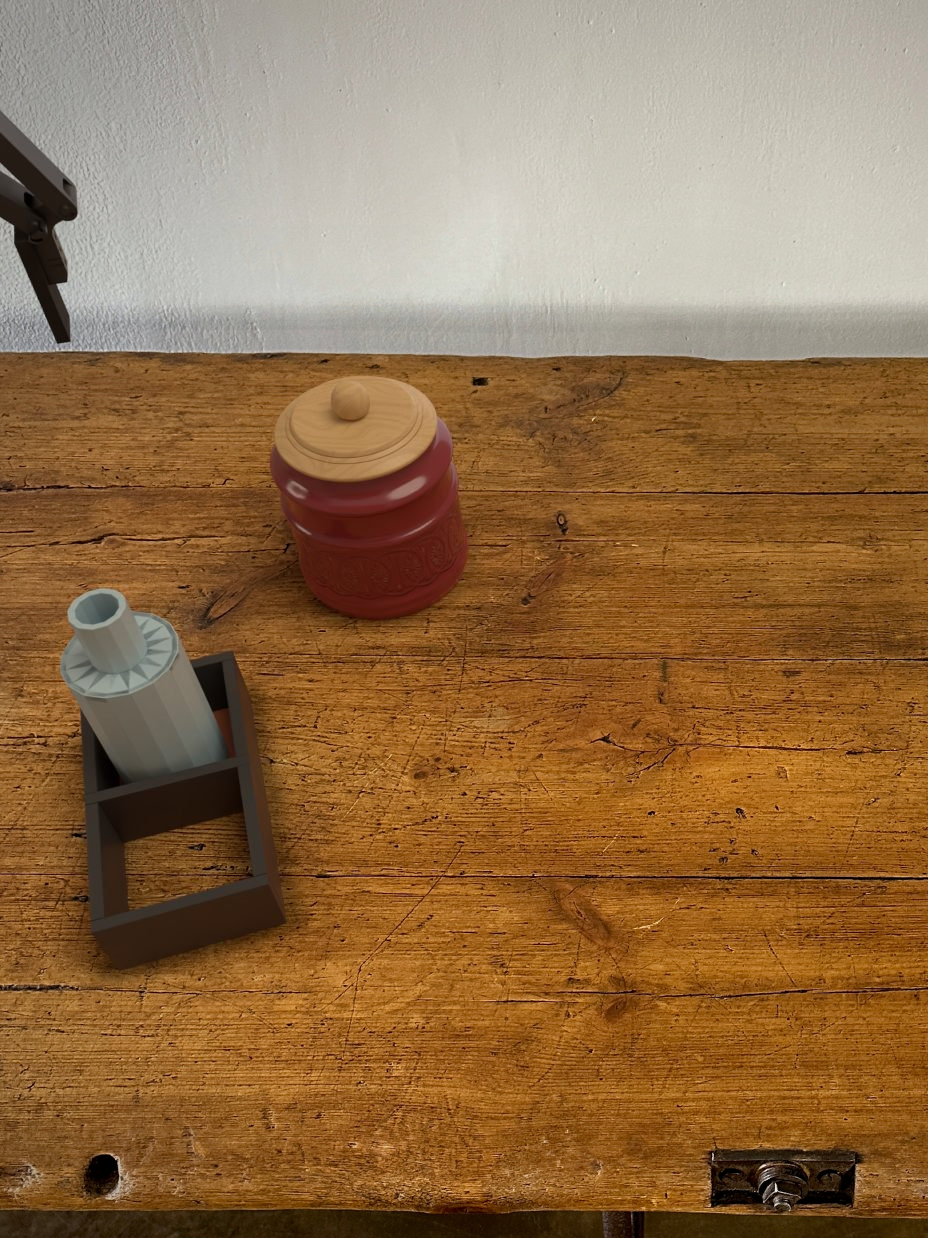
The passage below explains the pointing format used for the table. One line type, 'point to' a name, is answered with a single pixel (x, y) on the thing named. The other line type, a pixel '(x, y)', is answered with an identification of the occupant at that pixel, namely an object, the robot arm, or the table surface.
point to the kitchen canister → (370, 496)
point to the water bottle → (138, 689)
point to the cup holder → (172, 806)
